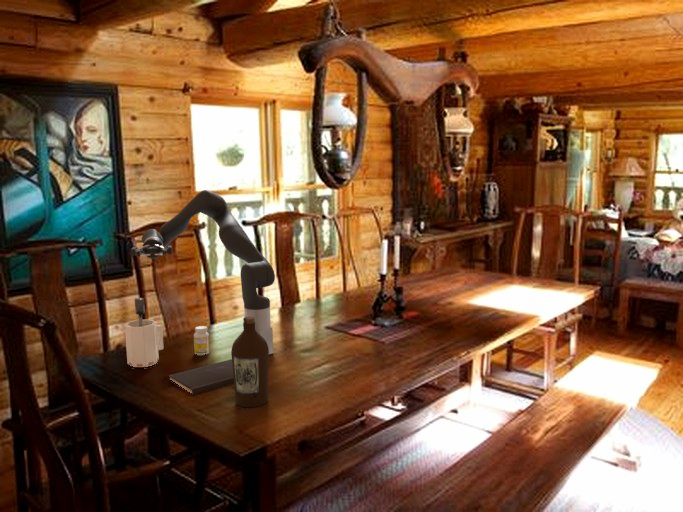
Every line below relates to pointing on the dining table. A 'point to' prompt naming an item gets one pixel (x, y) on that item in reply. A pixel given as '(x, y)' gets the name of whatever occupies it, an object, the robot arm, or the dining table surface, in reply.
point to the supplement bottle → (201, 341)
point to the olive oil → (250, 366)
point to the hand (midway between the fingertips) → (151, 253)
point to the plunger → (139, 309)
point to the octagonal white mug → (143, 342)
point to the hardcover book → (205, 377)
